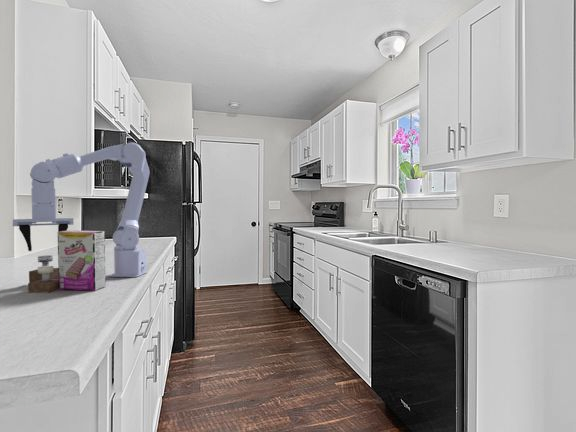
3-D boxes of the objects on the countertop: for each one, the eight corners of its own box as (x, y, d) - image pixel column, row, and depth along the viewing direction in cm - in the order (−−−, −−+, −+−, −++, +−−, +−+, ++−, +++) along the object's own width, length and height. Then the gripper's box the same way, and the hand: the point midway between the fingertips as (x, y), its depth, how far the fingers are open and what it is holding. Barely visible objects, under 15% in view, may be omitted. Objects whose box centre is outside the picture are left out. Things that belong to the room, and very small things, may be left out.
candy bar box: (57, 290, 95) (56, 231, 95) (70, 286, 100) (69, 230, 100) (95, 291, 94) (94, 231, 94) (106, 287, 99) (105, 230, 99)
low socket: (62, 287, 98) (62, 279, 98) (48, 292, 93) (48, 283, 93) (43, 287, 98) (43, 278, 98) (28, 292, 93) (28, 283, 93)
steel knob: (55, 275, 104) (55, 255, 103) (47, 278, 100) (46, 257, 100) (44, 275, 104) (43, 255, 104) (35, 278, 100) (34, 257, 100)
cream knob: (56, 280, 97) (56, 265, 97) (47, 283, 94) (47, 268, 93) (44, 280, 97) (43, 265, 97) (34, 283, 94) (34, 268, 94)
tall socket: (61, 282, 105) (61, 267, 105) (48, 286, 99) (47, 271, 99) (43, 282, 105) (43, 267, 105) (29, 286, 99) (28, 271, 99)
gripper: (11, 203, 94) (12, 253, 94) (73, 203, 102) (74, 249, 103) (13, 203, 100) (14, 250, 100) (72, 203, 108) (73, 247, 108)
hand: (45, 249), depth 102 cm, fingers open, 6 cm apart
